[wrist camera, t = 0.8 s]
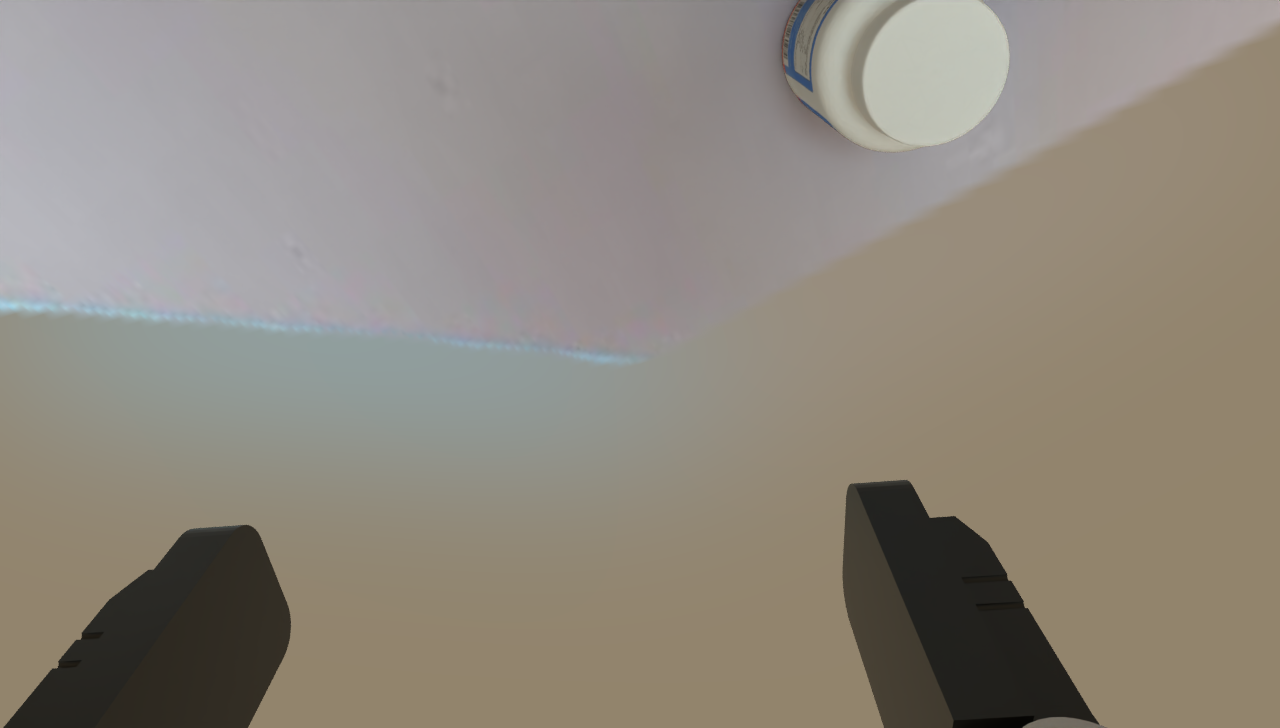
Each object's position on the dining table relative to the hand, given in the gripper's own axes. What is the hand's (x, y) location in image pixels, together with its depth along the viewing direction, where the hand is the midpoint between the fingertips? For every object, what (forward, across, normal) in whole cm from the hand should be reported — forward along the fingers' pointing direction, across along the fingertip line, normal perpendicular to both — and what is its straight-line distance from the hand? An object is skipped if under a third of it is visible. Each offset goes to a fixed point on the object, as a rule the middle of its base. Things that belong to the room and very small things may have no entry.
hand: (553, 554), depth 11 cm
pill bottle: (+24, -10, -4) cm, 26 cm away
